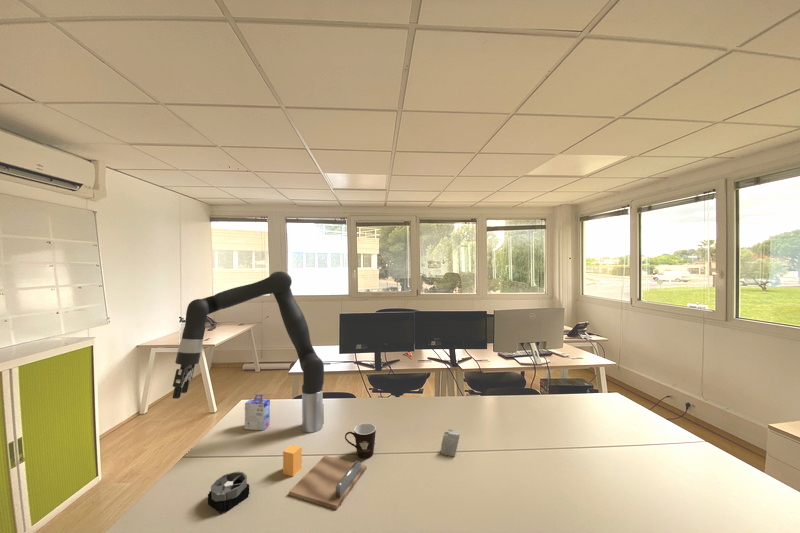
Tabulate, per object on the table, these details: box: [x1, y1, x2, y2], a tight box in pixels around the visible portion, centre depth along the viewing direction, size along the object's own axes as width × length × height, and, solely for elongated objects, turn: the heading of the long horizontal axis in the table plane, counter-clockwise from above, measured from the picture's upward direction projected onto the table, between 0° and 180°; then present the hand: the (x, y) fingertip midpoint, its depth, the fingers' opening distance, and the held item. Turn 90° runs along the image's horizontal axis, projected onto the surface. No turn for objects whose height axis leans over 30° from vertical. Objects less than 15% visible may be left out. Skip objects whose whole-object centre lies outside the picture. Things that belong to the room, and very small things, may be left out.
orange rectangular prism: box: [282, 444, 303, 477], centre depth 109 cm, size 4×4×8 cm
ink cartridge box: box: [244, 394, 271, 431], centre depth 141 cm, size 10×6×14 cm, turn 83°
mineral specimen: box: [440, 428, 461, 457], centre depth 120 cm, size 7×9×8 cm
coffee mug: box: [344, 422, 377, 460], centre depth 120 cm, size 12×9×10 cm
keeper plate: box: [288, 455, 368, 510], centre depth 104 cm, size 20×18×5 cm
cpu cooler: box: [207, 471, 250, 514], centre depth 96 cm, size 10×6×10 cm
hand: (180, 395), depth 113 cm, fingers open, 8 cm apart
